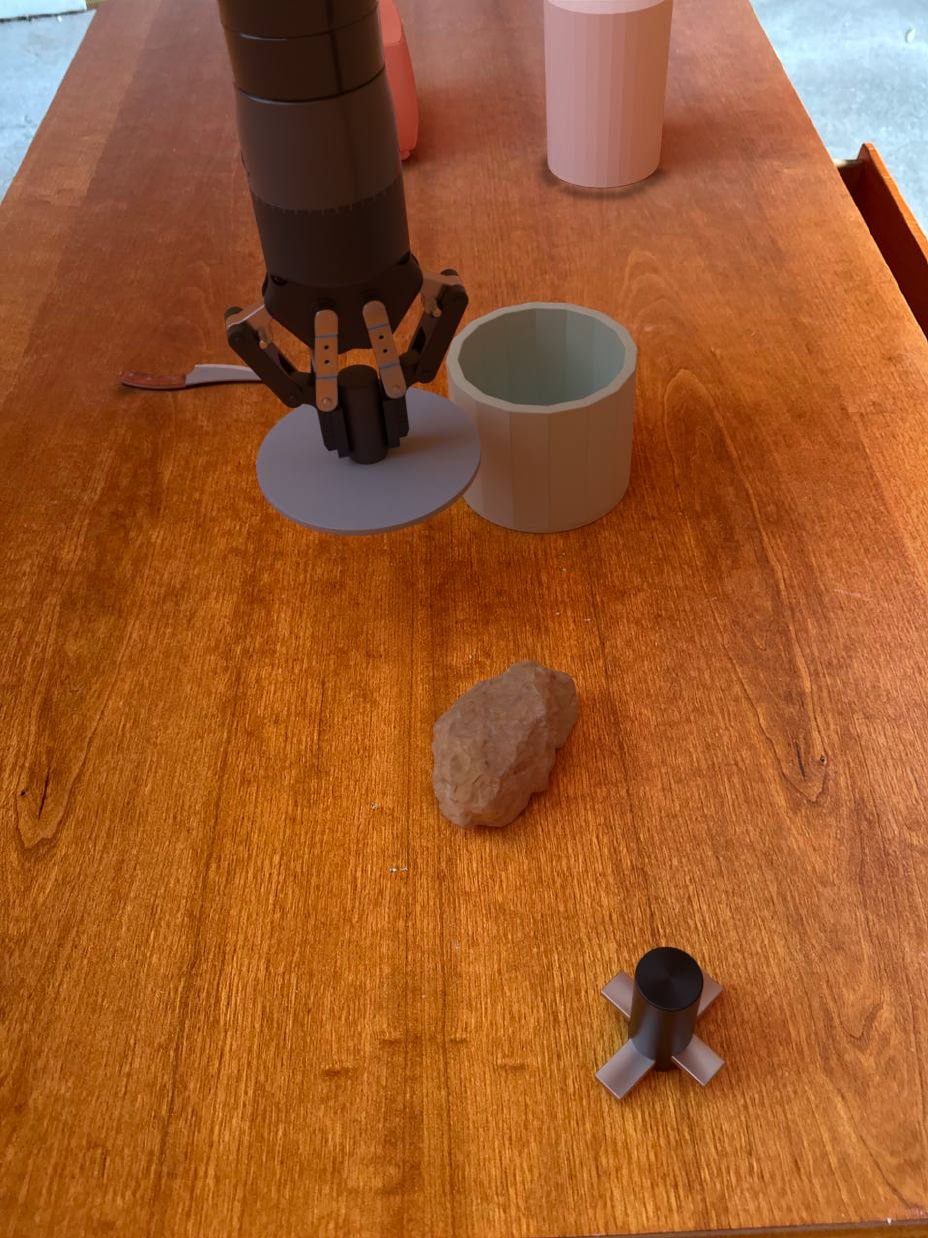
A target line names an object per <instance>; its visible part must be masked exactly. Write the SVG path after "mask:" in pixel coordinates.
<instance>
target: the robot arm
mask: <svg viewBox="0 0 928 1238" xmlns="http://www.w3.org/2000/svg"><path fill="white" fill-rule="evenodd" d="M215 1H216V7H217V12H218V16H219V20H220V26H221V32H222V36H223V41H224V46H225V50H226V56H227V60H228V65H229V66H228V67H229V71H230V75H231V80H232V85H233V92H234V103H235V119H236V129H237V135H238V141H239V147H240V157H241V162H242V165H243V168H244V170H245V174H246V179H247V184H248V188H249V194H250V197H251V202H252V207H253V212H254V216H255V223H256V226H257V230H258V235H259V241H260V245H261V250H262V255H263V259H264V265H265V277H264V280H263V282H262V285H261V295H262V296H261V297H260V298H258V299H256V300H255V301H254V302H253V303H251V304H250V305H248V306H246V307H245V308H244V309H243V308H242V307H240V306H231V307H228V308H227V309H226V310H225V311H224V313H223V321H224V326H225V331H226V332H225V333H226V338H227V344H228V346H229V347H230V348H231V349H232V350H233V352H234V353H235V354H236V355H237V356H238V357H239V358H240V359H241V360H242V362H244V363H245V364H246V365H247V367H249V368H251V369H252V370H253V371H254V373H255V374H256V375H257V376H258V377H259V378H260V379H261V380H260V381H261V382H262V383H264V384H265V386H267V388H268V389H269V390H270V391H271V392H272V393H273V394H274V396H276V397H277V398H278V400H280V401H281V403H283V405H284V406H286V407H287V408H289V409H296V408H297V407H299V406H301V405H302V404H307V405H311V406H313V407H314V408H315V409H316V410H317V414H318V419H319V424H320V429H321V434H322V438H323V442H324V446H325V447H326V448H327V450H328V451H334V450H337V453H338V457H339V458H344V457H349V456H350V451H349V445H348V439H347V433H346V427H345V422H344V416H343V410H342V406H341V402H340V399H339V396H338V388H337V377H338V372H339V356H340V355H343V354H345V353H347V352H349V351H352V350H372V353H373V355H374V358H375V362H376V365H377V369H378V379H379V387H380V396H381V403H382V410H383V417H384V424H385V431H386V438H387V445H388V448H389V449H391V448H396V447H400V439H399V438H401V437H406V436H407V435H408V432H409V422H408V413H407V405H406V397H405V395H406V391H407V389H408V388H409V387H412V386H414V385H415V384H417V383H419V384H423V385H424V384H425V385H426V384H427V385H428V384H430V383H432V382H433V381H434V380H435V378H436V377H437V374H438V372H439V370H440V368H441V366H442V364H443V361H444V359H445V356H446V354H447V352H448V351H449V349H450V346H451V343H452V340H453V339H454V338H455V335H456V332H457V330H458V327H459V326H460V323H461V321H462V318H463V316H464V314H465V312H466V311H467V308H468V305H469V301H470V298H469V295H468V294H467V291H466V287H465V285H464V283H463V281H462V279H461V278H460V275H459V272H458V271H457V270H455V269H453V268H446V269H443V270H441V271H440V272H439V273H437V272H433V271H431V270H426V269H423V268H421V266H420V263H419V261H418V259H417V257H416V256H415V255H414V253H412V250H411V243H410V234H409V233H410V231H409V223H408V214H407V205H406V195H405V185H404V178H403V177H404V176H403V166H402V160H401V156H400V147H399V137H398V128H397V118H396V111H395V105H394V101H393V96H392V92H391V89H390V85H389V80H388V76H387V71H386V64H385V56H384V47H383V38H382V28H381V19H380V10H379V1H378V0H215ZM419 294H421V295H420V303H421V305H422V308H423V311H422V314H421V317H420V318H419V321H418V323H417V326H416V328H415V330H414V332H413V335H412V338H411V340H410V342H409V345H408V347H407V350H406V351H405V352H403V353H401V354H400V355H399V354H398V350H397V347H396V346H397V345H396V343H395V339H394V336H393V335H395V332H396V331H397V330H398V328H399V326H400V325H401V324H402V321H403V320H404V318H405V316H406V315H407V313H408V311H409V309H410V308H411V307H412V305H413V303H414V302H415V300H416V298H417V296H418V295H419ZM273 320H274V321H276V322H277V323H279V325H281V326H282V327H283V328H285V329H286V330H287V331H288V332H289V333H291V335H293V336H294V337H295V338H297V339H298V340H299V341H300V342H302V343H303V345H304V344H305V346H306V347H308V353H309V370H310V371H308V372H307V371H299V369H298V368H297V367H296V366H295V365H294V364H293V363H292V362H291V361H290V360H289V358H288V357H287V356H286V355H285V354H284V353H283V351H282V350H280V348H279V347H278V346H277V345H276V343H274V342H273V341H274V333H273V328H272V324H271V322H272V321H273Z"/></svg>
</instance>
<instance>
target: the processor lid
mask: <svg viewBox="0 0 928 1238" xmlns="http://www.w3.org/2000/svg"><path fill="white" fill-rule="evenodd" d="M379 379H380V378H379V372H377V370H376V369H375V368H374V367H373V366H371V365H368V364H364V363H363V364H360V363H359V364H358V363H357V364H351V365H348V366H345V367H344V368H341V370H338V377H337V388H338V396H339V399H340V402H341V406H342V410H343V416H344V422H345V427H346V433H347V439H348V445H349V451H350V456H349V457H344V458H339V457H338V453H337V450H334V451H328V450H327V448H326V447H325V446H324V442H323V438H322V434H321V429H320V424H319V419H318V414H317V410H316V409H315V408H314V407H313V406H311V405H307V404H302V405H301V406H299V407H297V408H293V409H292V410H291V411H289V412H288V413H287V414H285V415H284V416H283V417H282V418H280V419H279V421H277V422H276V424H275V425H274V426H273V427H271V429H270V430H269V431H268V433H267V434H266V436H265V437H264V438H263V441H262V442H261V444H260V446H259V449H258V453H257V455H256V462H255V469H256V470H255V472H256V479H257V481H258V485H259V489H260V491H261V493H262V495H263V498H265V500H266V501H267V502H268V503H269V505H270V506H271V507H272V508H273V509H274V510H275V511H276V512H277V513H279V515H281V516H282V517H284V518H285V519H287V520H288V521H290V522H292V523H294V524H296V525H298V526H300V527H303V528H307V529H308V530H312V531H315V532H318V533H323V534H327V535H336V536H345V537H347V536H348V537H362V536H364V537H365V536H375V535H381V534H383V535H384V534H388V533H393V532H398V531H402V530H405V529H408V528H411V527H414V526H417V525H419V524H422V523H424V522H426V521H428V520H431V519H432V518H434V517H436V516H438V515H440V514H441V513H443V512H445V511H447V509H449V508H450V507H452V506H453V505H454V504H455V503H457V501H459V500H460V499H461V497H463V496H462V495H463V494H464V493H465V492H466V491H467V490H468V488H469V487H470V486H471V484H472V483H473V481H474V479H475V477H476V475H477V473H478V470H479V467H480V464H481V456H482V452H481V440H480V436H479V432H478V430H477V428H476V426H475V424H474V422H473V421H472V420H471V418H470V417H469V416H468V415H467V414H466V413H465V412H464V411H463V410H462V409H461V408H460V407H459V406H457V405H456V404H454V403H453V402H452V401H450V400H449V398H446V397H444V396H443V395H440V394H437V393H435V392H432V391H430V390H426V389H422V388H419V387H414V386H410V387H409V388H408V389H407V391H406V395H405V397H406V405H407V413H408V422H409V432H408V435H407V436H406V437H401V438H399V439H400V447H396V448H391V449H389V448H388V445H387V438H386V431H385V424H384V417H383V410H382V403H381V396H380V387H379Z"/></svg>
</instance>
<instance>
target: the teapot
mask: <svg viewBox="0 0 928 1238" xmlns="http://www.w3.org/2000/svg"><path fill="white" fill-rule="evenodd" d="M378 1H379V10H380V19H381V28H382V38H383V47H384V56H385V64H386V71H387V76H388V80H389V85H390V89H391V92H392V96H393V101H394V105H395V111H396V118H397V128H398V137H399V147H400V156H401V161H404V160H406V159H408V158H409V157H410V155H411V153H410V151H411V150H413V149H415V148H416V145H417V141H418V135H419V134H418V132H419V103H418V102H419V101H418V94H417V86H416V80H415V74H414V73H415V72H414V69H413V63H412V58H411V54H410V50H409V45H408V42H407V38H406V33H405V29H404V26H403V23H402V19H401V16H400V13H399V9H398V7H397V4H396V3H395V1H394V0H378Z"/></svg>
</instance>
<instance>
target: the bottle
mask: <svg viewBox="0 0 928 1238" xmlns="http://www.w3.org/2000/svg"><path fill="white" fill-rule="evenodd" d="M673 8H674V0H543V31H544V32H543V33H544V34H543V35H544V38H543V39H544V67H545V68H544V71H545V73H544V74H545V77H544V79H545V110H546V111H545V113H546V153H547V158H546V159H547V167H548V169H549V170H550V172H551V173H552V174H553V175H554V176H555V177H556V178H557V179H559V180H562V181H564V182H566V183H569V184H572V185H574V186H580V187H583V188H584V187H585V188H596V189H600V188H602V189H604V188H605V189H607V188H608V189H609V188H617V187H622V186H623V187H624V186H629V185H631V184H635V183H638V182H641V181H642V180H644V179H646V178H648V177H649V176H651V175H652V174H653V173H655V171H656V170H657V169H658V167H659V165H660V161H661V151H662V150H661V148H662V138H663V127H664V114H665V104H666V103H665V102H666V91H667V90H666V89H667V79H668V68H669V55H670V43H671V34H672V33H671V32H672V23H673V22H672V21H673V19H672V18H673V10H674V9H673Z"/></svg>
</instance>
